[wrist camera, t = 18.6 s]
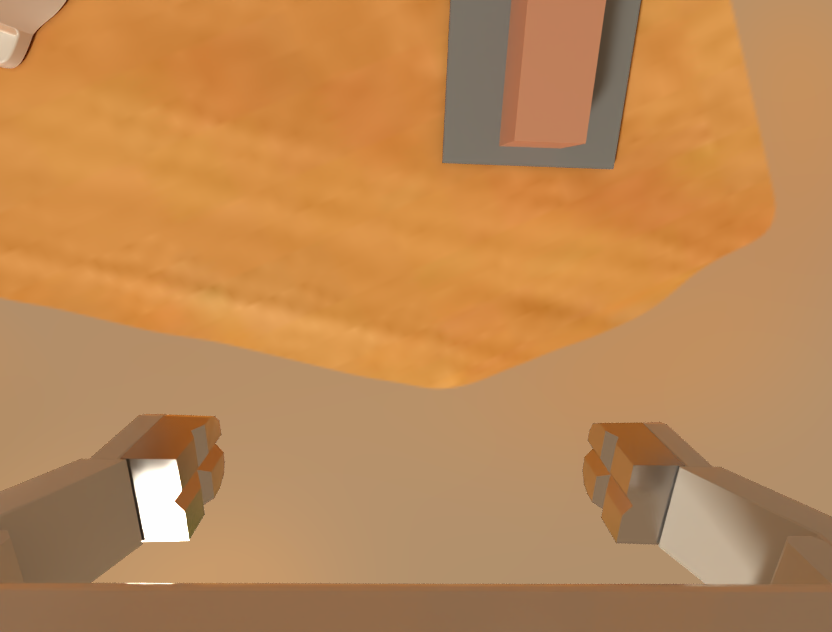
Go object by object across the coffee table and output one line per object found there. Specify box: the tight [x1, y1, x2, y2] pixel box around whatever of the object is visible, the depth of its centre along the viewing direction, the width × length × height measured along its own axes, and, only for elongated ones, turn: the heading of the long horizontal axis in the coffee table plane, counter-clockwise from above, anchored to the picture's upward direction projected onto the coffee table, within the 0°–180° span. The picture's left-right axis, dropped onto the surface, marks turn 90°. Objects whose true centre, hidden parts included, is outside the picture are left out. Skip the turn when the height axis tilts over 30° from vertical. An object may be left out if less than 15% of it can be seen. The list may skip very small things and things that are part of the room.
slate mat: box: [442, 0, 641, 169], centre depth 33 cm, size 14×16×1 cm
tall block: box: [499, 0, 606, 149], centre depth 30 cm, size 5×5×12 cm
